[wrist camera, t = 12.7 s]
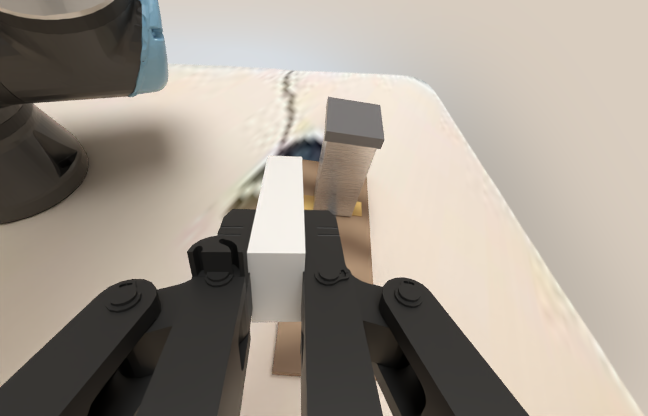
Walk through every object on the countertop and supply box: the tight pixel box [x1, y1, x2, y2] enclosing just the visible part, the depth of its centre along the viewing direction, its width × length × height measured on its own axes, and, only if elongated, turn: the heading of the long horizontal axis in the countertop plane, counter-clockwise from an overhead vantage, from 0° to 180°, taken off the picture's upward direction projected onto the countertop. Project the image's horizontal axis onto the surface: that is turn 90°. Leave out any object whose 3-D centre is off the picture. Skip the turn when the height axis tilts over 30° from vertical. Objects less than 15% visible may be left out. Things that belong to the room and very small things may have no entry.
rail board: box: [272, 160, 376, 381], centre depth 37 cm, size 28×10×2 cm, turn 178°
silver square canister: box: [313, 97, 384, 217], centre depth 35 cm, size 6×6×13 cm
